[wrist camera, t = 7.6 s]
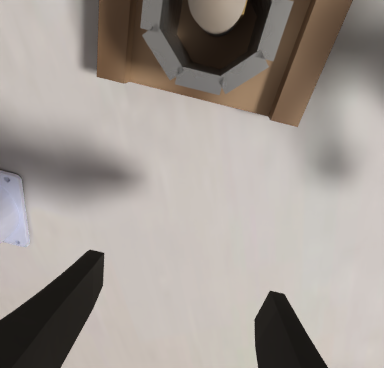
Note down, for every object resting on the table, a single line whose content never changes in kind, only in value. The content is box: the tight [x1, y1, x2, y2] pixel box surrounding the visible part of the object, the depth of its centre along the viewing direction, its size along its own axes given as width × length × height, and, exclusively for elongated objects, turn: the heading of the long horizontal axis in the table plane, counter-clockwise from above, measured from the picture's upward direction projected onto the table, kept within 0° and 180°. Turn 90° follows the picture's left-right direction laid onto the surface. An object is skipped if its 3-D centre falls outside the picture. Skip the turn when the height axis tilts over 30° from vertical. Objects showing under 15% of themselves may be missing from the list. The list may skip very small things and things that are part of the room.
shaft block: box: [97, 0, 353, 127], centre depth 12 cm, size 12×9×6 cm
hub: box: [140, 0, 294, 95], centre depth 11 cm, size 6×6×4 cm
